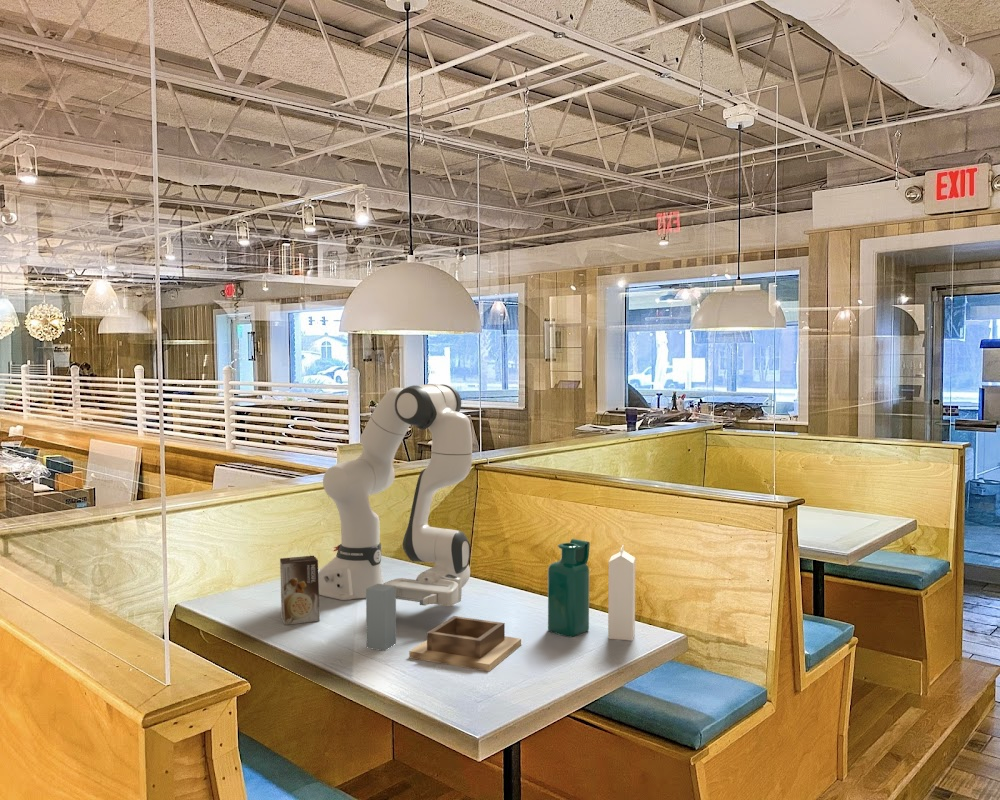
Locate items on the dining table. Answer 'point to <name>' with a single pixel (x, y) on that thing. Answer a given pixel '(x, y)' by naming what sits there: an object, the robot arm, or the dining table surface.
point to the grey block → (381, 616)
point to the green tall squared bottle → (569, 590)
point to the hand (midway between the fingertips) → (405, 599)
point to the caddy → (467, 644)
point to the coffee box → (299, 590)
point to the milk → (621, 596)
